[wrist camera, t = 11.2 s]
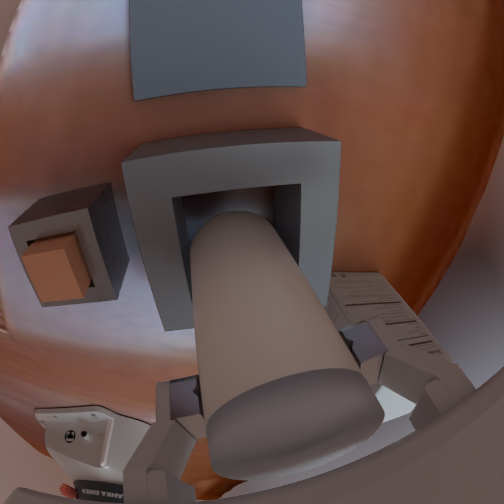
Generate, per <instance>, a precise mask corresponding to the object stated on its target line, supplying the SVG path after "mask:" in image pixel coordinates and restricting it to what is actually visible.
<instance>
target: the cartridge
mask: <svg viewBox="0 0 504 504" xmlns="http://www.w3.org/2000/svg"><path fill="white" fill-rule="evenodd" d="M190 266H191V285H192V301H193V315H194V328H195V340H196V351H197V361H198V371H199V380H200V389H201V397H202V405H203V413H204V420H205V427H206V434H207V441H208V447H209V454H210V460H211V466H212V469H213V471H214V472H215V473H216V474H218V475H220V476H222V477H226V478H230V479H236V480H263V479H272V478H278V477H283V476H288V475H292V474H296V473H299V472H303V471H306V470H309V469H312V468H315V467H318V466H320V465H323V464H325V463H327V462H330V461H332V460H334V459H336V458H338V457H340V456H342V455H344V454H346V453H347V452H349V451H351V450H352V449H354V448H355V447H357V446H359V445H360V444H361V443H363V442H364V441H365V440H367V439H368V438H369V437H370V436H371V435H372V434H373V433H374V432H375V431H376V430H377V429H378V428H379V427H380V425H381V424H382V422H383V420H384V418H385V412H384V410H383V408H382V406H381V404H380V403H379V401H378V399H377V397H376V396H375V394H374V392H373V390H372V388H371V387H370V385H369V383H368V381H367V380H366V378H365V376H364V374H363V373H362V371H361V369H360V368H359V366H358V364H357V362H356V361H355V359H354V357H353V356H352V354H351V352H350V350H349V349H348V347H347V345H346V344H345V342H344V340H343V339H342V337H341V335H340V334H339V332H338V330H337V329H336V327H335V325H334V324H333V322H332V320H331V319H330V317H329V315H328V314H327V312H326V310H325V309H324V307H323V305H322V304H321V302H320V300H319V299H318V297H317V296H316V294H315V292H314V291H313V289H312V287H311V286H310V284H309V283H308V281H307V279H306V278H305V276H304V275H303V273H302V271H301V270H300V268H299V267H298V265H297V263H296V262H295V260H294V259H293V257H292V255H291V254H290V252H289V251H288V249H287V248H286V246H285V244H284V243H283V241H282V240H281V238H280V237H279V235H278V233H277V232H276V230H275V229H274V227H273V226H272V225H271V224H270V223H269V222H268V221H267V220H266V219H264V218H263V217H261V216H259V215H257V214H255V213H252V212H247V211H230V212H225V213H222V214H219V215H217V216H215V217H213V218H211V219H210V220H208V221H207V222H206V223H205V224H204V225H203V226H202V227H201V228H200V229H199V230H198V231H197V233H196V235H195V236H194V238H193V241H192V244H191V248H190Z"/></svg>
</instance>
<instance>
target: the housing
mask: <svg viewBox="0 0 504 504" xmlns="http://www.w3.org/2000/svg"><path fill="white" fill-rule="evenodd" d="M340 157H341V141H339V140H336V139H333V138H331V137H328V136H325V135H322V134H319V133H317V132H314V131H311V130H308V129H305V128H274V129H255V130H241V131H229V132H219V133H209V134H201V135H193V136H185V137H178V138H171V139H165V140H159V141H153V142H147V143H142V144H141V145H140V146H139V147H138V148H136V149H135V150H134V151H133V152H132V153H131V154H130V155H129V156H127V157H126V158H125V159H124V160H123V161H122V162H121V165H122V171H123V176H124V181H125V187H126V192H127V196H128V201H129V206H130V210H131V215H132V219H133V223H134V228H135V232H136V236H137V240H138V244H139V248H140V251H141V255H142V259H143V263H144V266H145V270H146V273H147V277H148V280H149V283H150V287H151V290H152V293H153V297H154V300H155V303H156V306H157V309H158V312H159V315H160V318H161V321H162V324H163V327H164V330H165V331H173V330H182V329H190V328H194V315H193V301H192V285H191V266H190V244H189V239H188V233H187V227H186V220H185V214H184V208H183V201H182V196H187V195H194V194H202V193H209V192H217V191H226V190H235V189H244V188H253V187H264V186H274V229H275V230H276V232H277V233H278V235H279V237H280V238H281V240H282V241H283V243H284V244H285V246H286V248H287V249H288V251H289V252H290V254H291V255H292V257H293V259H294V260H295V262H296V263H297V265H298V267H299V268H300V270H301V271H302V273H303V275H304V276H305V278H306V279H307V281H308V283H309V284H310V286H311V287H312V289H313V291H314V292H315V294H316V296H317V297H318V299H319V300H320V302H321V304H322V305H323V307H325V306H327V299H328V292H329V285H330V277H331V269H332V260H333V251H334V242H335V232H336V220H337V208H338V194H339V178H340Z"/></svg>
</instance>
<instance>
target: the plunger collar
mask: <svg viewBox="0 0 504 504" xmlns="http://www.w3.org/2000/svg"><path fill="white" fill-rule="evenodd" d="M8 229H9V232H10V235H11V238H12V240H13V243H14V246H15V248H16V251H17V253H18V256H19V258H20V261H21V263H22V265H23V268H24V270H25V272H26V274H27V277H28V279H29V281H30V283H31V285H32V287H33V289H34V291H35V293H36V295H37V297H38V299H39V301H40V303H41V305H42V307H48V306H59V305H70V304H80V303H90V302H100V301H110V300H117V299H118V296H119V292H120V289H121V285H122V282H123V279H124V276H125V272H126V269H127V266H128V263H129V260H130V259H129V256H128V252H127V249H126V245H125V242H124V238H123V234H122V231H121V227H120V223H119V219H118V215H117V211H116V206H115V202H114V198H113V193H112V188H111V184H110V182H109V183H104V184H100V185H95V186H91V187H86V188H82V189H77V190H73V191H69V192H65V193H61V194H57V195H53V196H49V197H46V198H42V199H39V200H38V201H37V202H36V203H34V204H33V205H32V206H31V207H30V208H29V209H27V210H26V211H25V212H24V213H23V214H22V215H21V216H19V217H18V218H17V219H16V220H15V221H14V222H13V223H12V224H11V225H10V226H9V227H8ZM73 231H76V234H77V237H78V240H79V243H80V246H81V249H82V252H83V255H84V258H85V261H86V263H87V266H88V269H89V272H90V274H91V277H92V280H91V282H90V285H89V287H88V289H87V292H86V294H85V297H84V298H80V299H70V300H60V301H50V302H42V301H41V299H40V297H39V295H38V293H37V291H36V289H35V287H34V285H33V283H32V281H31V279H30V277H29V274H28V272H27V270H26V268H25V265H24V263H23V260H22V258H21V256H22V255H23V254H24V252H25V251H26V250H27V249H28V248H29V246H30V245H31V244H32V243H33V242H34V241H35V239H38V238H43V237H48V236H53V235H57V234H62V233H67V232H73Z"/></svg>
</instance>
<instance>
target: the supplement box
mask: <svg viewBox="0 0 504 504" xmlns="http://www.w3.org/2000/svg"><path fill="white" fill-rule="evenodd" d="M324 309H325V310H326V312H327V314H328V315H329V317H330V319H331V320H332V322H333V324H334V325H335V327H336V329H337V330H338V332H339V330H341V329H343V328H346V327H348V326H350V325H353V324H355V323H358V322H360V321H362V320H366V319H368V318H370V317H373V316H375V315H378V316H379V317H380V318H381V319H382V320H383V322H384V323H385V324H386V326H387V327H388V328H389V330H390V331H391V332H392V334H393V335H394V336H395V338H396V339H397V340H398V342H399V343H400V344H401V345H402V344H407V345H409V346H412V347H414V348H417V349H419V350H422V351H425V352H427V353H430V354H432V355H435V356H437V357H440V358H442V359H445V360H448V361H450V362H452V359H451V358H450V357H449V355H448V354H447V353H446V352H445V350H444V349H443V348H442V346H441V345H440V344H439V343H438V341H437V340H436V339H435V337H433V335H432V334H431V332H430V331H429V330H428V329H427V327H426V326H425V325H424V324H423V323H422V321H421V320H420V319H419V318H418V317H417V315H416V314H415V313H414V312H413V310H412V309H411V308H410V307H409V306H408V305H407V303H406V302H405V301H404V300H403V299H402V297H401V296H400V295H399V294H398V293H397V292H396V291H395V289H394V288H393V287H392V286H391V285H390V284H389V283H388V281H387V280H386V279H385V278H384V277H383V276H382V275H381V274H380V273H375V272H331V277H330V285H329V292H328V299H327V306H325V307H324ZM370 387H371V388H372V390H373V392H374V394H375V396H376V397H377V399H378V401H379V403H380V404H381V406H382V408H383V410H384V412H385V418H384V420H383V422H386V421H389V420H391V419H394V418H397V417H400V416H402V415H405V414H407V413H409V412H411V411H412V409H413V408H414V407H415V405H416V404H415V403H413V402H411V401H409V400H407V399H406V398H404V397H402V396H400V395H399V394H397V393H395V392H393V391H392V390H390V389H388V388H386V387H385V386H383V385H381V384H380V383H378V382H376V383H374V384H371V385H370ZM383 422H382V423H383Z"/></svg>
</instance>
